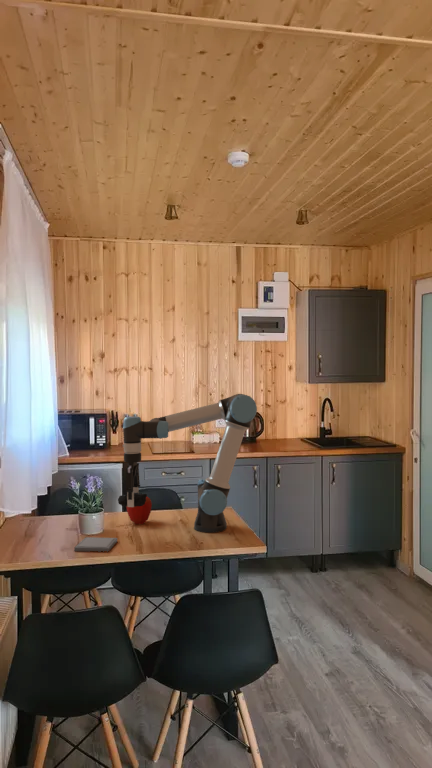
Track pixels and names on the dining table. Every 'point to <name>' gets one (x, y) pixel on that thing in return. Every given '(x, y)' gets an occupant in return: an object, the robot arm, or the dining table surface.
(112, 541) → the plate
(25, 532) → the dining table surface
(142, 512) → the apple
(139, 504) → the mineral
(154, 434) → the robot arm
